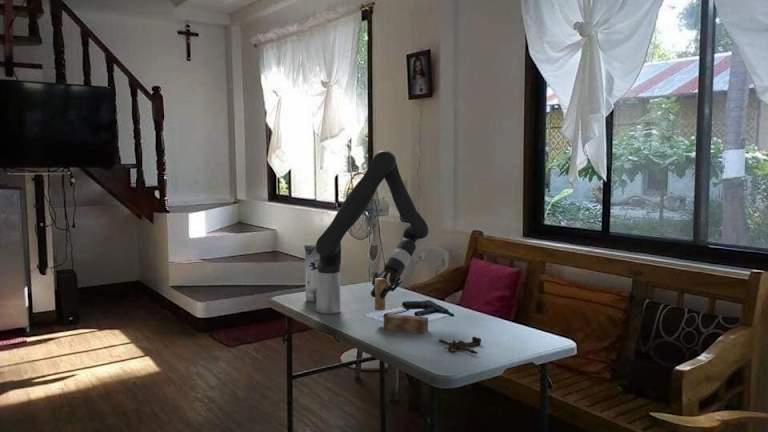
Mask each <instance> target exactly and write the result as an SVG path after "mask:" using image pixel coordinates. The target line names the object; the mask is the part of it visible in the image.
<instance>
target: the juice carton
mask: <svg viewBox="0 0 768 432" xmlns="http://www.w3.org/2000/svg"><path fill="white" fill-rule="evenodd" d="M303 247H304V276H305V277H304V282H305V287H304V288H305V300H306V301H307V300H308V302H312V301H313V303H317V301H316V290H317V289H318V264H319V260H320V255H319V254H318V252H317V250H316V243H314V244H305V245H304V246H303Z"/></svg>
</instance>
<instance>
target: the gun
mask: <svg viewBox="0 0 768 432" xmlns="http://www.w3.org/2000/svg"><path fill="white" fill-rule="evenodd" d="M401 305H402V307H403V308H405V309H407V308H408V309H423V310H416V311H414V314H415V315H417V316H419V317H421V316H420V315H423V316H426V315H425V314H427V315H431V314H433V313H434V312H435V313H441V314H443V315H444V314H446V315H448V316H450V317H451V316H452V317H453V316H455V314H454V313H452V312H450V310H449V309H447V308H446V307H444V306H441V305H440V304H437V303H436V302H434V301H432V300H430V299H427V300H409V301H408V300H407V301H405V300H404V301H402V303H401ZM430 313H431V314H430ZM414 314H413V315H414ZM415 315H414V316H415Z"/></svg>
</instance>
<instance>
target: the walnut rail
mask: <svg viewBox="0 0 768 432" xmlns="http://www.w3.org/2000/svg"><path fill="white" fill-rule="evenodd" d="M383 330H386V331H395V332H396V331H397V332H403V333H404V332H405V333H410V334H411V333H414V334H419V335H420V334H422V335H424V334H425V333H427V332H428V331H429V317H427V316H415V315H408V314H398V313H390V312H389V313H387V314H385V315H384V316H383Z"/></svg>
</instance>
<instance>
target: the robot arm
mask: <svg viewBox="0 0 768 432" xmlns="http://www.w3.org/2000/svg"><path fill="white" fill-rule="evenodd" d="M383 180H385V182H386V183H387V186H388V189H389V191H390V193H391V196H392V200H393V204H394V205H395V207H396V211H397V212H398V214H399V216H400V218H401V219H402V220H403V221H407V222H408V223H409V224H408V225H407V226H406V227H405V229H404V230H403V233H402V235H401V239H400V242H398V244H397V246H396V248H395V249H394V251H393V252H392V253H391V254H390V257H389V258H388V259H387V261H386V263H385V264H384V267H383V270H382V271H381V272H377V271H376V272H374V275H373V277H372V280H371V281H372V282H371V284H372V286H373V288H372V289H371V291H370V296H371V297H373V298H375V279H376V278H384V279H385V289H383V290H382V292H381V293H380V295H379V297H380V298H381V299H384V298H385V299H386V296H387V295H388V293H389V292H394V291H396V289H397V288H398V287H399V286H400V285H401V284H402V283H403V282H404V281H403V279H402V278H401V276H402V274H403V273H404V271H405V269H406V267H407V266H408V264H409V263H410V260H411V258H412V257H413V254H414V253H415V251H416V247H417V246H416V242H417V241H418V240H421V239H425V238H426V237H427V236H428V234H429V227H428V224H427V222H426V220H424V218H423V217H422V215H421V214H420V213H419V212H418V210H417V208H416V205H414V202H413V199H412V198H411V196H410V194H409V192H408V190H407V187H406V185H405V184H404V182H403V179H402V176H401V174H400V171H399V168H398V164H397V159H396V156H395V155H394V153H393V152H391V151H389V150H380V151H378V152H377V153H375V154H374V155H373V158H372V160H371V162H370V163H369V166H368V168H367V169H366V171H365V173H364V174H363V176H362V177H361V179H360V180H359V181H357V183H356V185H355V186H354V187H353V188H352V190H350V192H349V193H348V195H347V197H346V198H345V199H344V201H343V203H342V204H341V206H340V207H339V209H338V211H337V212H336V214H335V216H334V218H333V220H332V222H331V223H330V224H329V225H328V227H327V228H326V230H324V232H323V233H322V234H321V235H320V236H319V237H318V239H317V240H316V243H315V244H316V250H317V252H318V254H319V255H320V260H319V264H318V289H317V290H316V301H317V302H316V313H321V314H325V315H327V314H328V315H332V314H338V313H340V312H341V263H342V243H341V242H342V240H343V239H344V236H345V235H346V234H347V233H348V231H349V230H350V229H351V228H352V227H353V226H354V225H355V224H356V222H358V220H359V219H360V218H361V217H362V215H363V214H364V213H365V211H366V209H367V208H368V206H369V205H370V203H371V201H372V199H373V198H374V195H375V193H376V191H377V189H378V187H379V185H381V183H382V182H383Z"/></svg>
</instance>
